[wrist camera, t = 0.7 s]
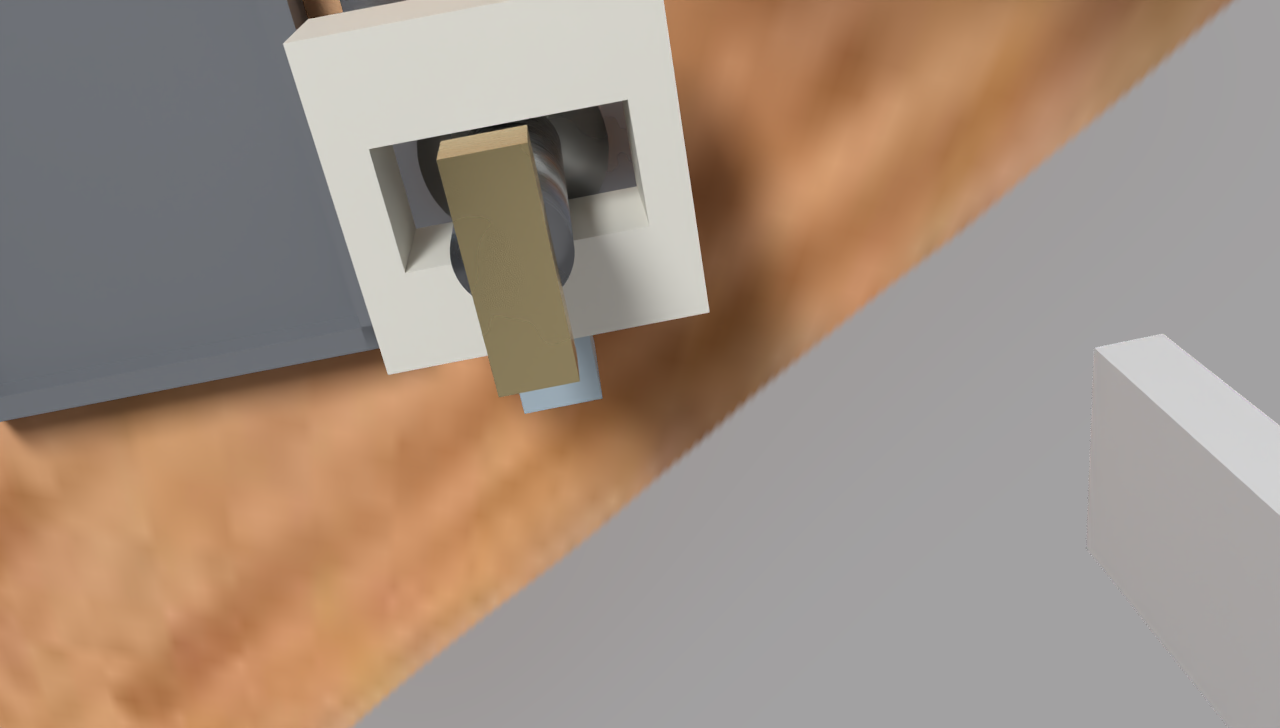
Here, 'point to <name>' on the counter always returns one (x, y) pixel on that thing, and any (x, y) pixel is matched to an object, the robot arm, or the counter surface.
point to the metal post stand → (516, 223)
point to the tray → (160, 203)
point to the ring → (485, 96)
